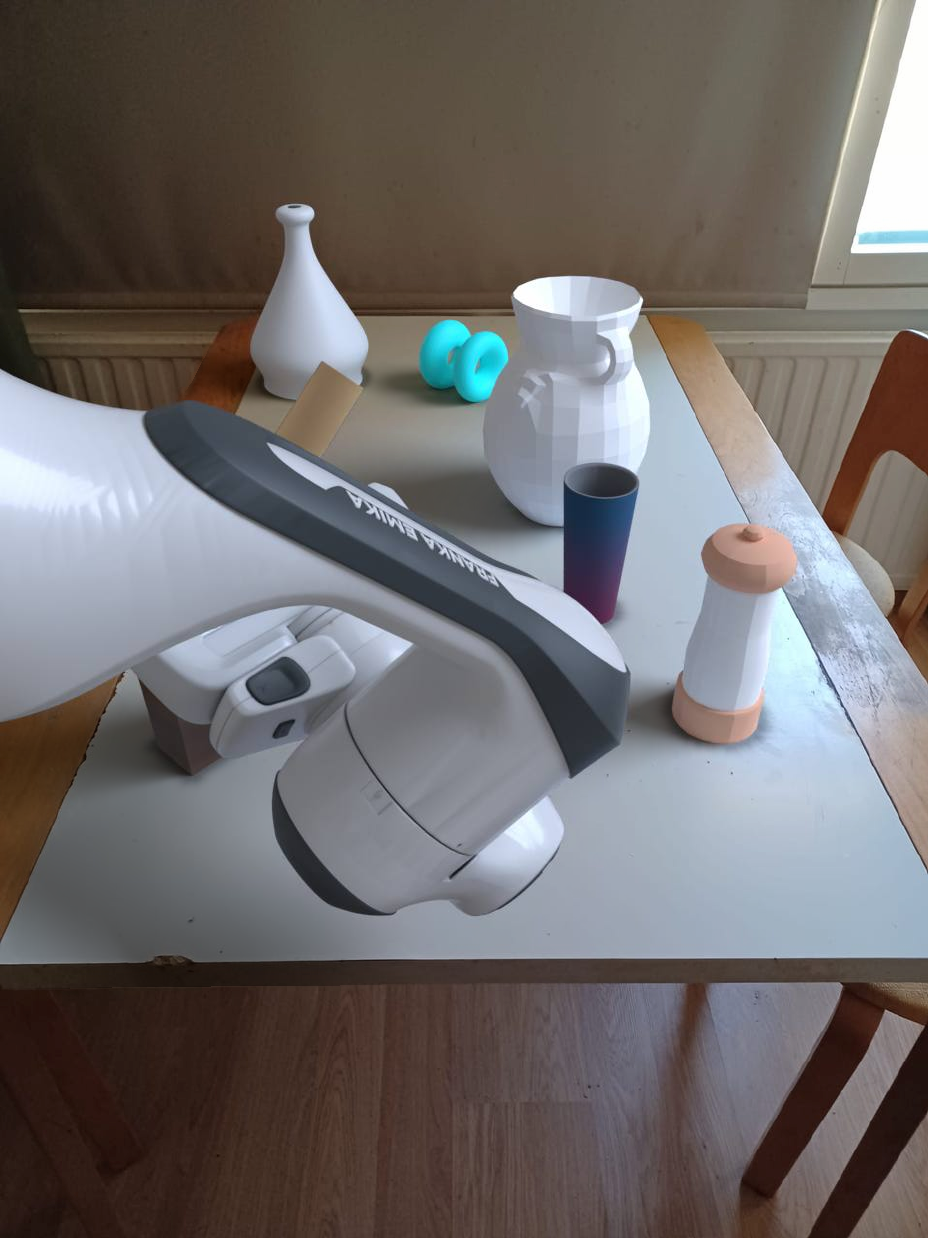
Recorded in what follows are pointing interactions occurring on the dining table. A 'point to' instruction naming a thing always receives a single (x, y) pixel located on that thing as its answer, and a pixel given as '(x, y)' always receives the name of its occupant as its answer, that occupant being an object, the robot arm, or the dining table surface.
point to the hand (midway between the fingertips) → (210, 494)
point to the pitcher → (566, 391)
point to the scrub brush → (320, 410)
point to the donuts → (462, 359)
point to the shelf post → (179, 736)
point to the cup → (597, 533)
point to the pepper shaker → (732, 633)
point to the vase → (304, 317)
